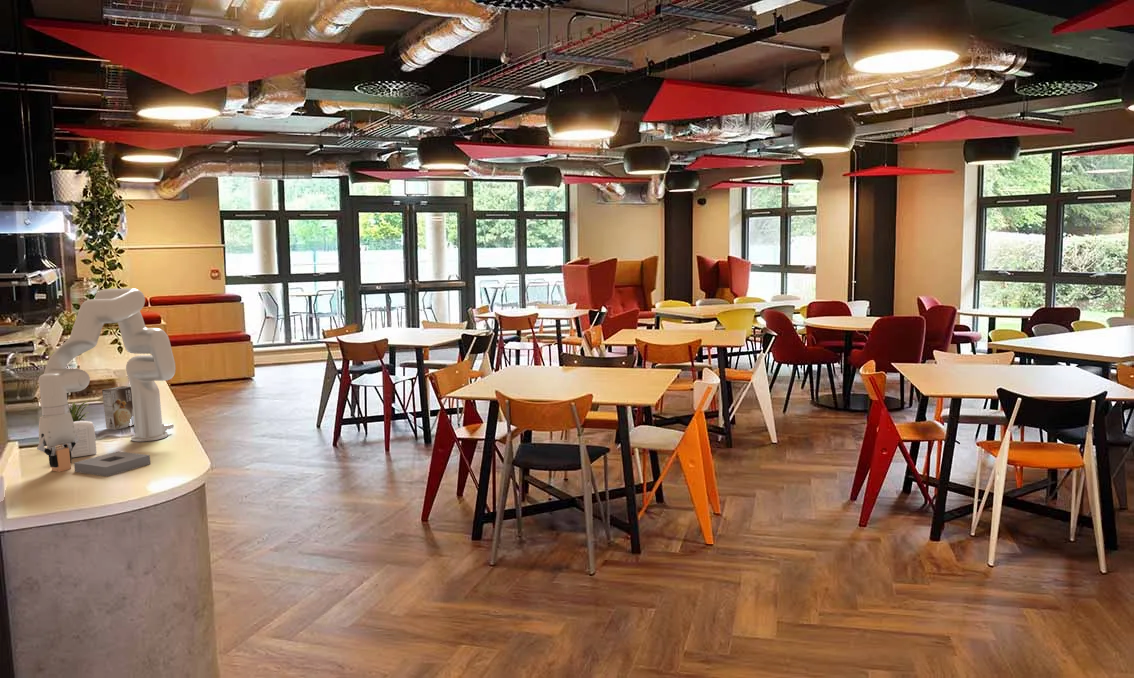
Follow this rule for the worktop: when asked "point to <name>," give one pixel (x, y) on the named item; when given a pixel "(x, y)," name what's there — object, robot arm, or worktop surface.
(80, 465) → the grey square hole board
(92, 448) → the photo printer
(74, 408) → the house plant
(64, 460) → the orange rectangular block
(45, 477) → the worktop surface
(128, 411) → the coffee box
